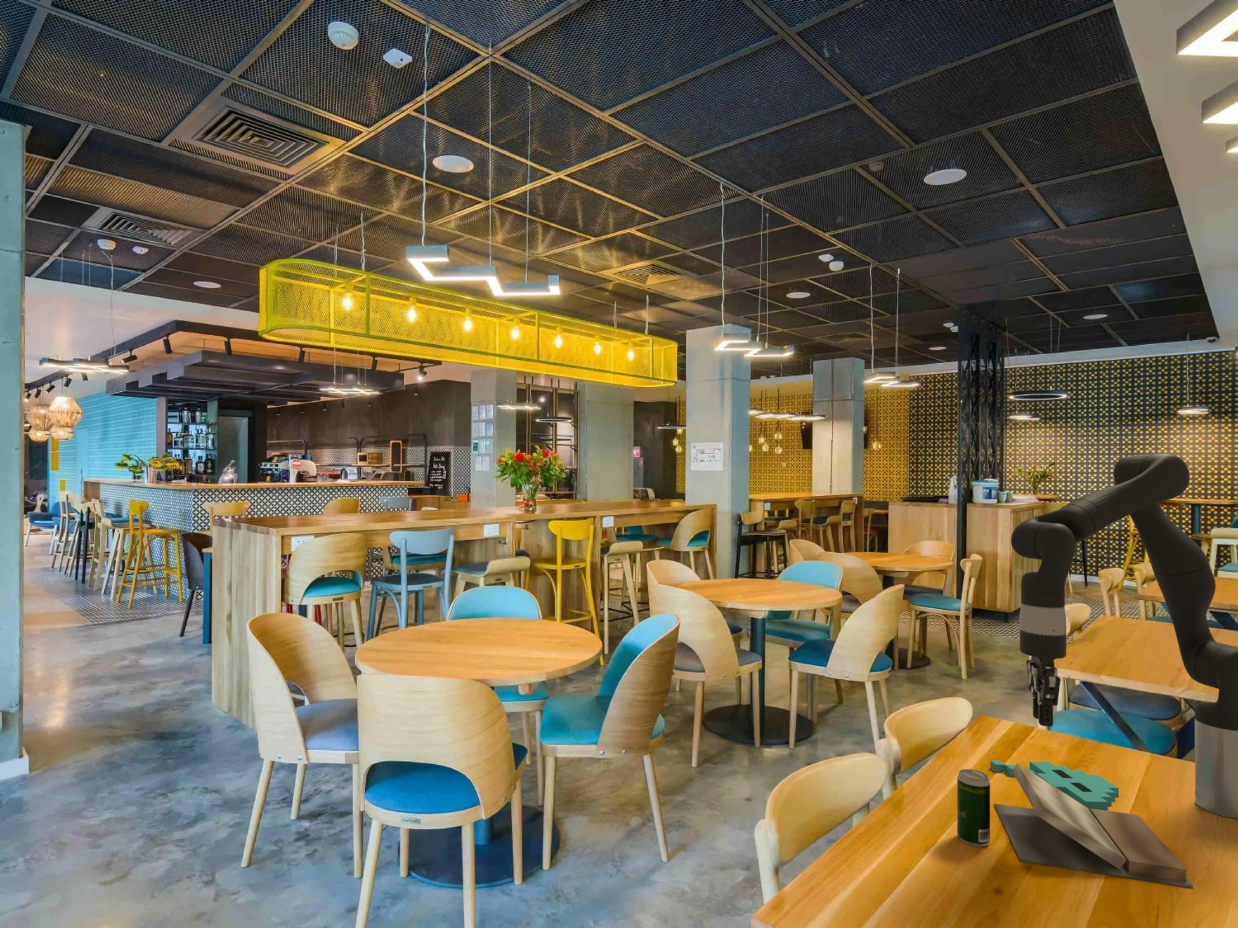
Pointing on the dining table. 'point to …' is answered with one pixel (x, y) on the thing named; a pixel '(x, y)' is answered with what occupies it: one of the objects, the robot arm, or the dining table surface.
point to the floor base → (1060, 850)
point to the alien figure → (1070, 783)
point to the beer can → (973, 808)
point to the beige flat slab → (1067, 815)
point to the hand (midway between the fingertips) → (1042, 721)
